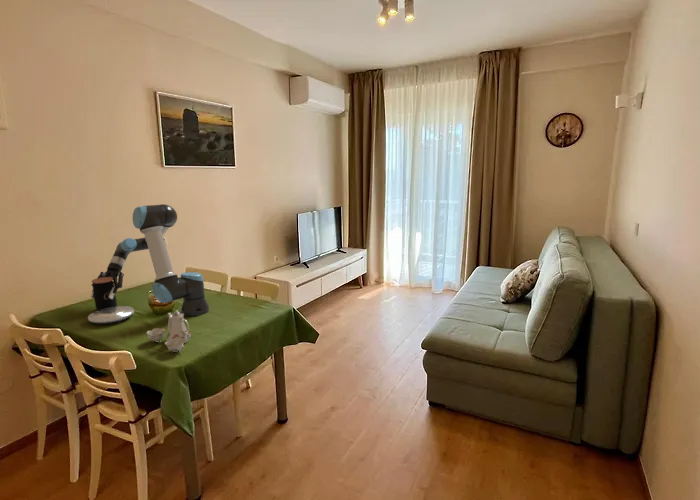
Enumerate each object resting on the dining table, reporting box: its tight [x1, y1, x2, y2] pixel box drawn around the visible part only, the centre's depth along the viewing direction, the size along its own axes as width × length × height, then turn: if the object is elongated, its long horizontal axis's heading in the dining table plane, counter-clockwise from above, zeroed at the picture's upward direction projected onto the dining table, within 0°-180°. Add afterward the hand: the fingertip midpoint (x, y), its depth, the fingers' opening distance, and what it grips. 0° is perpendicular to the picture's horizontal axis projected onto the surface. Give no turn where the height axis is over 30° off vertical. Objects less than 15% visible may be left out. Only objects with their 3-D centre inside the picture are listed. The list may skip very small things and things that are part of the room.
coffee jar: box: [91, 277, 117, 311], centre depth 230 cm, size 11×11×18 cm
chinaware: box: [146, 309, 192, 353], centre depth 185 cm, size 28×17×17 cm, turn 58°
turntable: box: [87, 305, 135, 324], centre depth 217 cm, size 22×22×2 cm
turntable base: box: [95, 317, 129, 326], centre depth 217 cm, size 16×16×2 cm
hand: (101, 297), depth 228 cm, fingers closed on coffee jar, 11 cm apart
